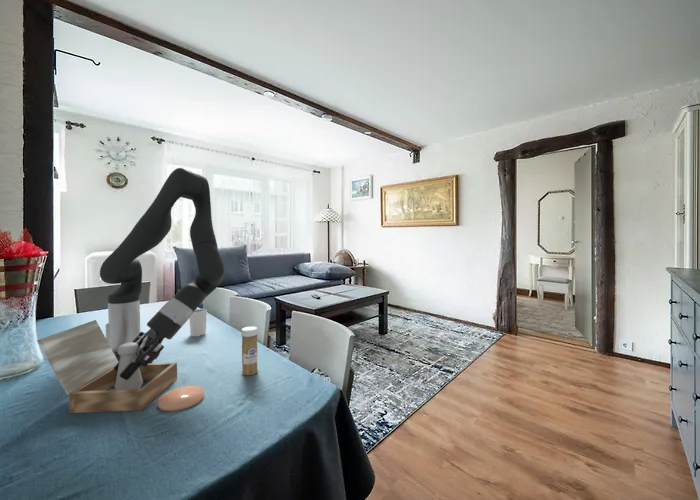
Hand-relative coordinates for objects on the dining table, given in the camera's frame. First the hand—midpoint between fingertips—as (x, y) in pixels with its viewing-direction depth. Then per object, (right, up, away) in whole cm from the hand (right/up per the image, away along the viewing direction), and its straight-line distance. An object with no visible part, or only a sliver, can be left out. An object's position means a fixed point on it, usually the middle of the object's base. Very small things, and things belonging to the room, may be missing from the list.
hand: (120, 374), depth 75 cm
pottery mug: (-8, -5, +17) cm, 19 cm away
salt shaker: (+1, -6, +2) cm, 6 cm away
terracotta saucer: (+16, -6, -1) cm, 17 cm away
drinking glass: (-5, -4, +49) cm, 50 cm away
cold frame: (-2, -6, +1) cm, 6 cm away
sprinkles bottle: (+28, -5, +14) cm, 32 cm away
